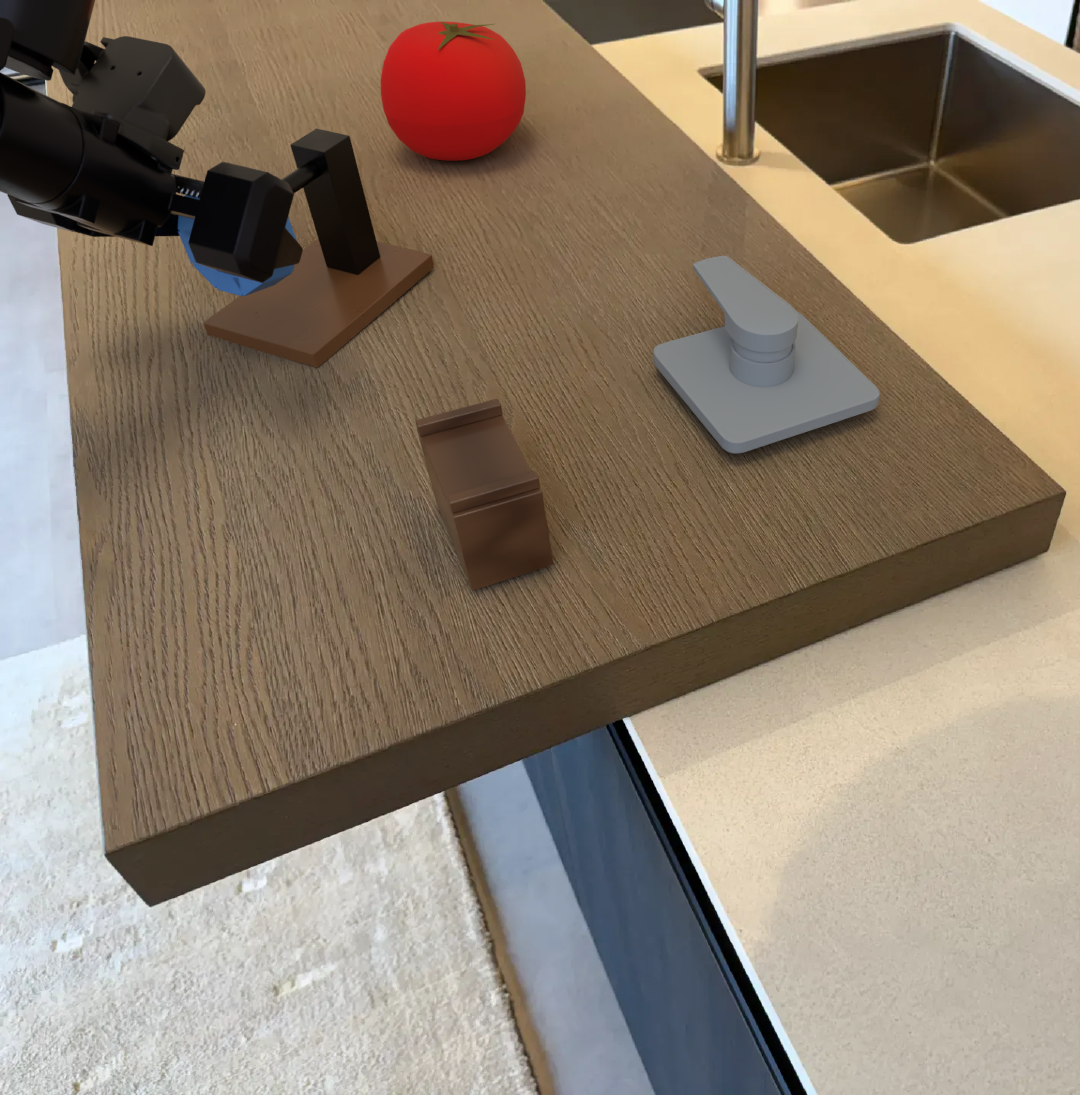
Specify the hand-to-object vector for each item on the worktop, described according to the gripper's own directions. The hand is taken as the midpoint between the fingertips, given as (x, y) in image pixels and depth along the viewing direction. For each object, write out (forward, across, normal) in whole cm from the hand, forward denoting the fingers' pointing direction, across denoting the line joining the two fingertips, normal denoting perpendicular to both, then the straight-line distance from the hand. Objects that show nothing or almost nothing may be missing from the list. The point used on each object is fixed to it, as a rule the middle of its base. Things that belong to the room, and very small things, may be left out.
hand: (245, 241), depth 72 cm
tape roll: (+1, 0, +3) cm, 3 cm away
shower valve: (+13, -34, -2) cm, 37 cm away
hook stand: (+10, 0, +2) cm, 10 cm away
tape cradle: (-2, -25, +14) cm, 29 cm away
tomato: (+29, +5, -17) cm, 34 cm away
